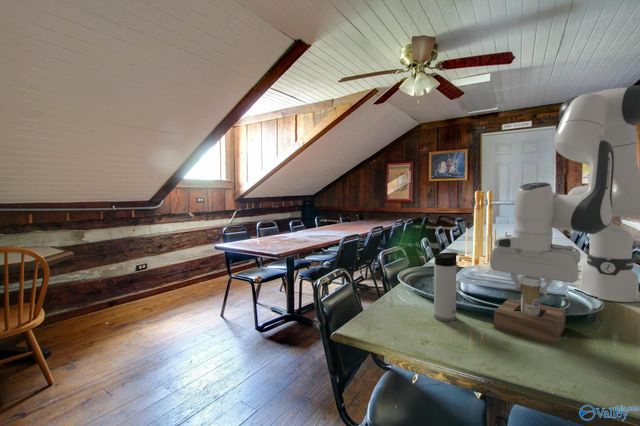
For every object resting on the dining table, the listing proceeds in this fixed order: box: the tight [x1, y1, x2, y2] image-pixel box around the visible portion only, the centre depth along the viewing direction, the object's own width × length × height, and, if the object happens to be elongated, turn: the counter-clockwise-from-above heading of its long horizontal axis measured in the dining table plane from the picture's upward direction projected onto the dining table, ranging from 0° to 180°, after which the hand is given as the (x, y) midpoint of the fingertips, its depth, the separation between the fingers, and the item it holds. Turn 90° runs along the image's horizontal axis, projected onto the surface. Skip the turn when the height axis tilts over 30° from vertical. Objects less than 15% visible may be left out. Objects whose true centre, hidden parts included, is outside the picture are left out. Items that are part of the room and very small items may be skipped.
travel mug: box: [433, 252, 459, 322], centre depth 97 cm, size 6×7×20 cm
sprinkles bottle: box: [520, 275, 542, 317], centre depth 89 cm, size 5×5×14 cm
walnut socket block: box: [493, 298, 567, 346], centre depth 89 cm, size 14×14×5 cm
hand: (530, 291), depth 88 cm, fingers closed on sprinkles bottle, 4 cm apart
